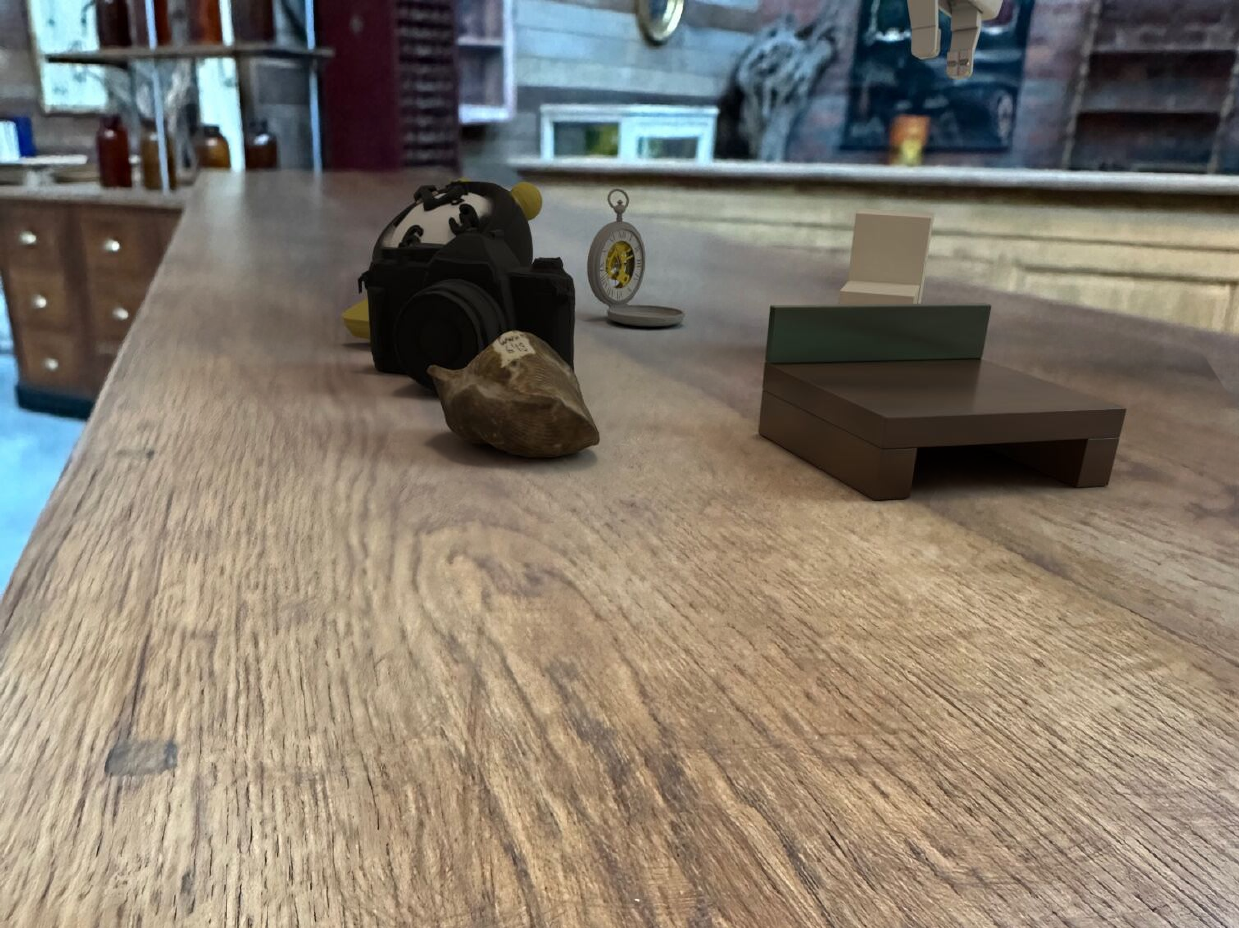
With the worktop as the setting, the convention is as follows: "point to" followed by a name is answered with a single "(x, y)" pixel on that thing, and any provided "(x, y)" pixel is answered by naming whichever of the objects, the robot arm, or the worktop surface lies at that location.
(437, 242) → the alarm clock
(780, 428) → the low wooden bench
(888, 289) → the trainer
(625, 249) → the pocket watch
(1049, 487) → the worktop surface
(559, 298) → the film camera
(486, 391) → the fossilized seashell
